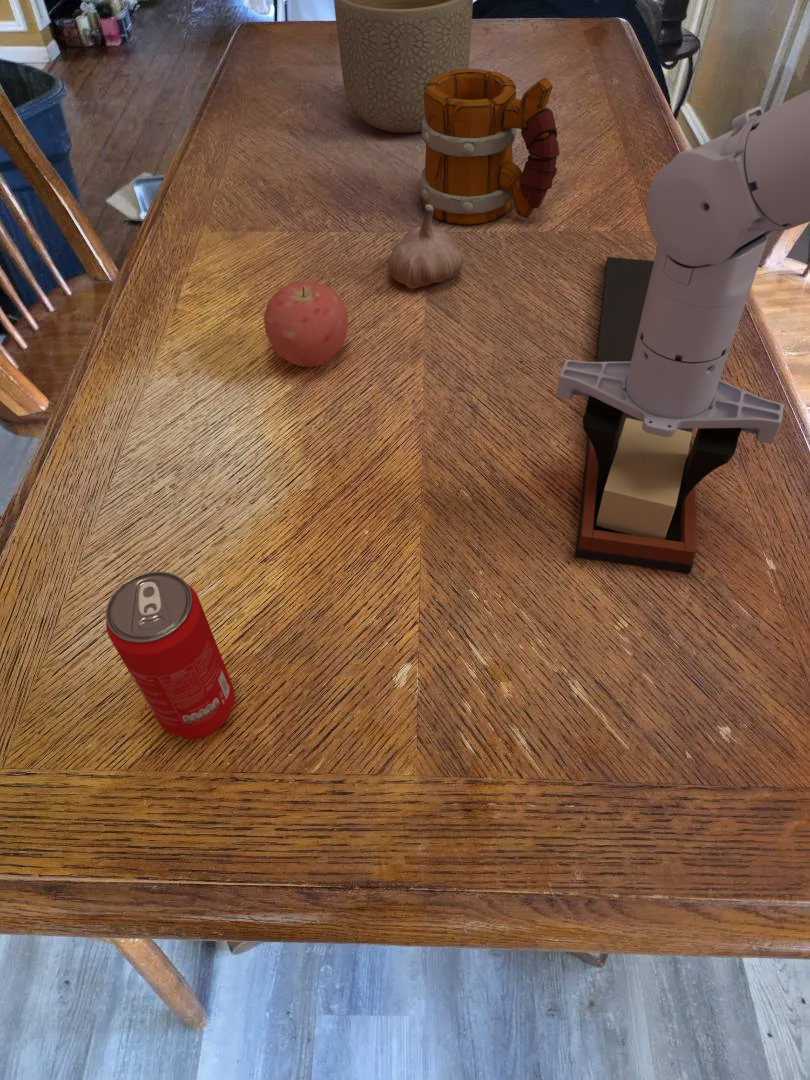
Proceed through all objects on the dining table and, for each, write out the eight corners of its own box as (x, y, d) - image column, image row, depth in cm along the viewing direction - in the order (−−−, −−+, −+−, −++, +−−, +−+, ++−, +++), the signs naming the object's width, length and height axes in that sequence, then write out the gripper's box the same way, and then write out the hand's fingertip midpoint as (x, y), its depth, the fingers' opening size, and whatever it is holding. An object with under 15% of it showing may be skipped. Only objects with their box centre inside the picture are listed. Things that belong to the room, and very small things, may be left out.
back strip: (687, 272, 84) (693, 250, 82) (689, 574, 60) (698, 553, 58) (605, 265, 86) (609, 243, 84) (574, 557, 61) (579, 536, 59)
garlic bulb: (472, 267, 86) (475, 195, 80) (444, 305, 82) (444, 231, 76) (408, 252, 88) (406, 180, 82) (377, 287, 84) (373, 214, 78)
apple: (366, 359, 77) (360, 284, 71) (304, 394, 74) (292, 320, 68) (319, 324, 80) (309, 251, 74) (258, 356, 77) (242, 283, 71)
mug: (449, 171, 100) (451, 34, 88) (570, 207, 93) (589, 65, 82) (399, 209, 94) (395, 69, 82) (524, 250, 88) (538, 105, 76)
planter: (472, 91, 114) (476, -38, 102) (465, 147, 103) (469, 10, 91) (353, 90, 116) (344, -38, 104) (334, 145, 105) (321, 9, 93)
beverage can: (162, 754, 52) (102, 655, 43) (156, 685, 55) (99, 579, 46) (242, 733, 53) (201, 632, 43) (231, 666, 56) (191, 558, 46)
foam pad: (680, 469, 64) (692, 432, 61) (663, 543, 59) (675, 507, 56) (617, 454, 65) (626, 417, 62) (595, 526, 61) (604, 489, 58)
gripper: (555, 349, 50) (534, 497, 61) (802, 399, 47) (735, 547, 57) (581, 287, 54) (557, 435, 65) (810, 329, 51) (746, 479, 61)
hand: (642, 484), depth 61 cm, fingers closed on foam pad, 5 cm apart
